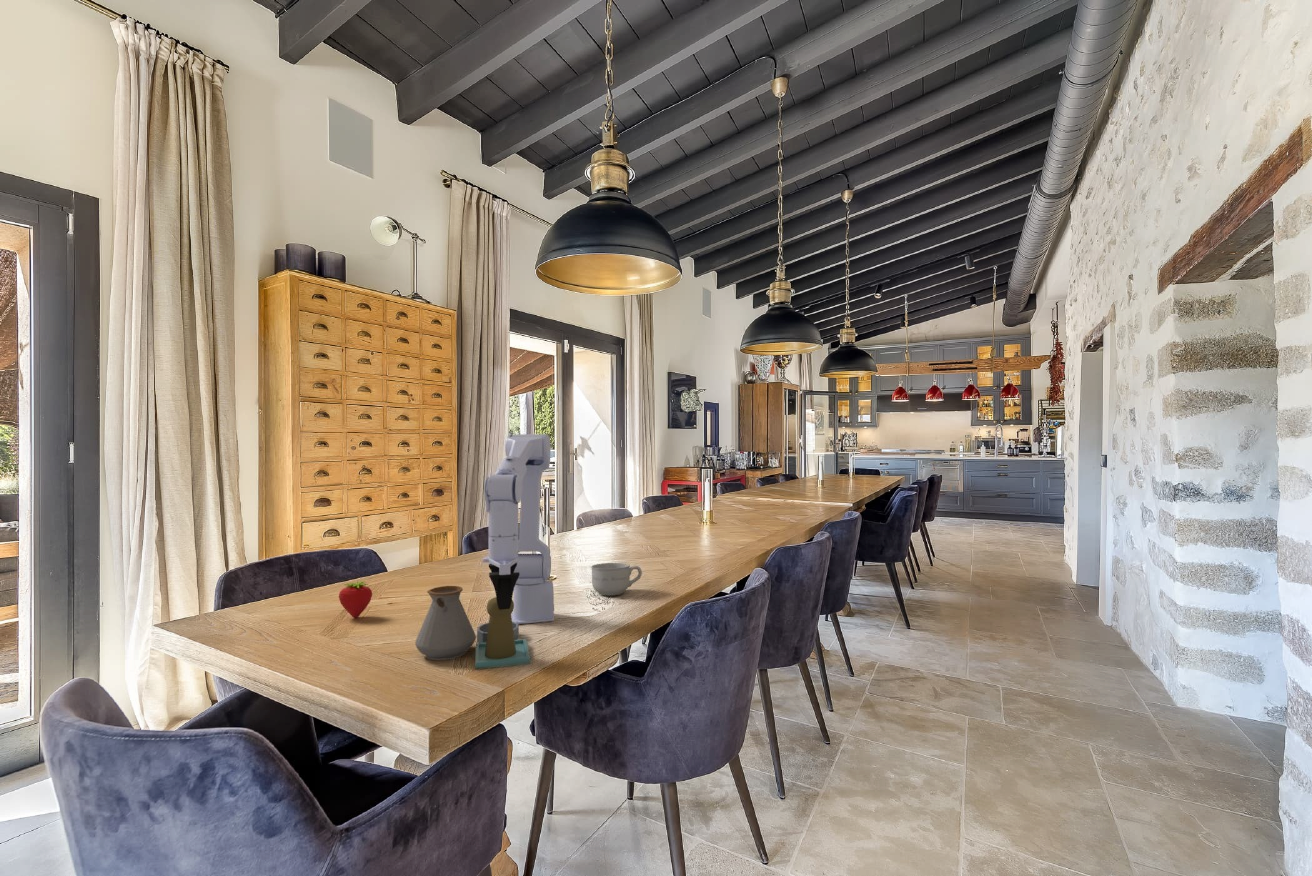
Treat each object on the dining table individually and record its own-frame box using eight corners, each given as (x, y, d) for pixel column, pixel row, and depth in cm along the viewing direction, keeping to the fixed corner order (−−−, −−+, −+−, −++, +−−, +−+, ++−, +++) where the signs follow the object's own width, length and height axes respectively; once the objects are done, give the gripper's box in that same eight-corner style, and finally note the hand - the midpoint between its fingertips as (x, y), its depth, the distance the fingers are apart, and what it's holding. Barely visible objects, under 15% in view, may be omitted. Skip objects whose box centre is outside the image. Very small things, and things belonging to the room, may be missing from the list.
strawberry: (345, 614, 148) (345, 573, 148) (376, 613, 148) (376, 573, 148) (333, 621, 142) (333, 578, 142) (365, 621, 142) (365, 578, 142)
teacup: (586, 597, 163) (586, 568, 163) (597, 587, 174) (597, 560, 174) (637, 599, 161) (637, 569, 161) (644, 589, 171) (644, 561, 171)
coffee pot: (419, 646, 125) (419, 574, 125) (476, 641, 128) (476, 570, 128) (403, 687, 105) (403, 601, 104) (472, 680, 107) (472, 596, 107)
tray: (525, 644, 126) (525, 638, 126) (529, 663, 116) (529, 657, 115) (475, 649, 123) (475, 643, 123) (475, 669, 113) (475, 662, 113)
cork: (521, 649, 121) (521, 595, 121) (505, 660, 115) (505, 603, 115) (495, 646, 123) (495, 592, 123) (478, 657, 117) (478, 600, 117)
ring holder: (517, 630, 135) (517, 619, 135) (519, 643, 127) (519, 631, 127) (477, 634, 133) (477, 622, 133) (477, 647, 124) (476, 635, 124)
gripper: (482, 530, 125) (482, 595, 125) (482, 541, 111) (482, 615, 111) (517, 528, 127) (517, 593, 127) (521, 540, 113) (521, 612, 113)
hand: (503, 603), depth 119 cm, fingers open, 7 cm apart
